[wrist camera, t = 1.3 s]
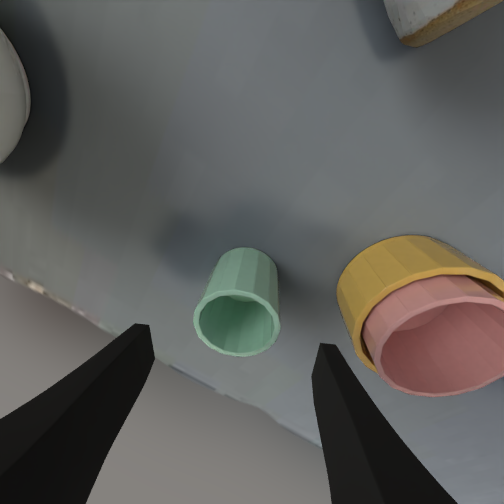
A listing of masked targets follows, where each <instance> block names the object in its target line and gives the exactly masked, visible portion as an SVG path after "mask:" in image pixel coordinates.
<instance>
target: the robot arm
mask: <svg viewBox="0 0 504 504" xmlns="http://www.w3.org/2000/svg"><path fill="white" fill-rule="evenodd" d="M154 360H155V356H154V350H153V345H152V339H151V333H150V328H149V325H145V324H136V323H135V324H134V325H132V326H131V327H130V328H129V329H127V330H126V331H125V332H123V333H122V334H121V335H120V336H118V337H117V338H116V339H115V340H113V341H112V342H111V343H109V344H108V345H107V346H106V347H104V348H103V349H102V350H101V351H99V352H98V353H97V354H95V355H94V356H93V357H91V358H90V359H89V360H87V361H86V362H85V363H83V364H82V365H81V366H79V367H78V368H77V369H75V370H74V371H72V372H71V373H70V374H68V375H67V376H65V377H64V378H63V379H61V380H60V381H58V382H57V383H56V384H54V385H53V386H52V387H50V388H48V389H47V390H46V391H44V392H43V393H41V394H39V395H38V396H37V397H35V398H33V399H32V400H31V401H29V402H27V403H26V404H24V405H22V406H21V407H19V408H18V409H16V410H14V411H13V412H11V413H10V414H8V415H6V416H5V417H3V418H1V419H0V504H86V502H87V499H88V497H89V495H90V492H91V489H92V488H93V485H94V483H95V481H96V479H97V476H98V474H99V472H100V470H101V467H102V465H103V463H104V460H105V458H106V456H107V454H108V452H109V450H110V448H111V446H112V444H113V442H114V440H115V438H116V437H117V435H118V433H119V431H120V429H121V427H122V426H123V424H124V422H125V420H126V418H127V416H128V414H129V413H130V411H131V409H132V407H133V405H134V403H135V401H136V399H137V398H138V396H139V394H140V392H141V390H142V388H143V386H144V384H145V382H146V380H147V377H148V375H149V373H150V370H151V367H152V365H153V362H154ZM312 388H313V398H314V406H315V411H316V417H317V422H318V427H319V432H320V437H321V442H322V447H323V452H324V457H325V463H326V467H327V473H328V479H329V485H330V492H331V501H332V504H458V503H457V502H456V501H455V500H454V499H453V498H452V497H451V496H450V495H449V494H448V493H447V492H446V491H445V490H444V488H443V487H442V486H441V485H440V484H439V483H438V482H437V481H436V479H435V478H434V477H433V476H432V475H431V474H430V473H429V471H428V470H427V469H426V468H425V467H424V466H423V465H422V463H421V462H420V461H419V460H418V459H417V457H416V456H415V455H414V454H413V453H412V451H411V450H410V449H409V448H408V447H407V445H406V444H405V443H404V442H403V440H402V439H401V438H400V437H399V435H398V434H397V433H396V432H395V430H394V429H393V428H392V426H391V425H390V424H389V422H388V421H387V420H386V419H385V417H384V416H383V415H382V413H381V412H380V411H379V409H378V408H377V406H376V405H375V404H374V402H373V401H372V399H371V398H370V396H369V395H368V394H367V392H366V391H365V389H364V388H363V386H362V385H361V383H360V382H359V381H358V379H357V378H356V376H355V374H354V373H353V371H352V370H351V368H350V367H349V365H348V364H347V362H346V360H345V359H344V357H343V356H342V354H341V352H340V351H339V349H338V347H337V346H336V345H334V344H325V343H320V346H319V349H318V353H317V357H316V361H315V365H314V369H313V372H312Z"/></svg>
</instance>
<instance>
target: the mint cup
mask: <svg viewBox="0 0 504 504" xmlns="http://www.w3.org/2000/svg"><path fill="white" fill-rule="evenodd" d="M193 324H194V327H195V329H196V332H197V335H198V336H199V337H200V338H201V340H202V341H203V342H204V343H205V344H206V345H207V346H209V347H210V348H212V349H214V350H216V351H218V352H220V353H222V354H226V355H231V356H236V357H242V356H254V355H256V354H259V353H261V352H263V351H266V350H267V349H268V348H269V347H270V346H272V345H273V344H274V343H275V342H276V340H277V338H278V335H279V332H280V329H281V324H280V297H279V278H278V271H277V268H276V265H275V264H274V262H273V261H272V260H271V258H270V257H269V256H267V255H266V254H265V253H263V252H261V251H259V250H257V249H253V248H246V247H242V248H235V249H232V250H230V251H228V252H226V253H225V254H223V255H222V256H221V257H220V258H219V260H218V261H217V263H216V265H215V266H214V268H213V270H212V273H211V275H210V277H209V279H208V282H207V284H206V286H205V288H204V290H203V293H202V295H201V297H200V299H199V302H198V304H197V306H196V308H195V311H194V319H193Z"/></svg>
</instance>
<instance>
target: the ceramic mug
mask: <svg viewBox="0 0 504 504" xmlns="http://www.w3.org/2000/svg"><path fill="white" fill-rule="evenodd" d="M383 1H384V4H385V7H386V10H387V14H388V17H389V20H390V22H391V23H392V25H393V27H394V29H395V31H396V34H397V36H398V38H399V39H400V41H401V42H402V43H403V44H404V45H408V46H412V47H416V48H417V47H420V46H422V45H425V44H427V43H429V42H431V41H433V40H435V39H437V38H438V37H440V36H442V35H444V34H446V33H448V32H449V31H451V30H453V29H455V28H457V27H458V26H460V25H462V24H464V23H465V22H467V21H469V20H471V19H472V18H474V17H476V16H478V15H479V14H481V13H483V12H485V11H486V10H488V9H490V8H492V7H493V6H495V5H497V4H498V3H500V2H502V1H504V0H383Z"/></svg>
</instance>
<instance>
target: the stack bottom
mask: <svg viewBox="0 0 504 504" xmlns="http://www.w3.org/2000/svg"><path fill="white" fill-rule="evenodd" d="M441 274H448V275H470V276H473V277H474V278H475V279H477V280H478V281H480V282H481V283H482V284H484V285H485V286H487V287H488V288H489V289H491V290H492V291H494V292H495V293H496V294H498V295H499V296H501V297H502V298H503V299H504V280H502V279H501V278H500V277H499V276H497V275H496V274H494V273H493V272H491V271H489V270H488V269H486V268H485V267H483V266H481V265H480V264H478V263H477V262H475V261H473V260H472V259H470V258H469V257H467V256H466V255H464V254H462V253H461V252H459V251H458V250H456V249H454V248H453V247H451V246H450V245H448V244H446V243H443V242H441V241H439V240H437V239H434V238H431V237H426V236H420V235H406V236H398V237H393V238H389V239H386V240H383V241H380V242H378V243H376V244H373V245H372V246H370V247H368V248H366V249H365V250H363V251H362V252H361V253H359V254H358V255H357V256H356V257H355V258H353V259H352V261H351V262H350V263H349V264H348V265H347V266H346V268H345V269H344V271H343V273H342V274H341V276H340V279H339V282H338V285H337V292H336V297H337V303H338V306H339V309H340V313H341V316H342V318H343V321H344V324H345V326H346V329H347V332H348V334H349V337H350V339H351V342H352V345H353V347H354V350H355V353H356V355H357V356H358V357H359V358H360V360H361V361H362V362H363V363H364V364H365V366H366V367H368V368H369V369H371V370H373V371H374V372H376V373H378V372H377V370H376V367H375V365H374V363H373V361H372V358H371V356H370V354H369V352H368V349H367V347H366V345H365V342H364V340H363V338H362V336H361V329H362V324H363V321H364V320H365V318H366V317H367V315H368V314H369V312H370V311H371V309H372V308H373V306H375V305H376V304H377V303H378V302H379V301H381V300H382V299H383V298H384V297H386V296H387V295H388V294H389V293H390V292H392V291H394V290H396V289H398V288H400V287H402V286H404V285H406V284H408V283H410V282H413V281H415V280H419V279H423V278H428V277H432V276H436V275H441Z"/></svg>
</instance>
